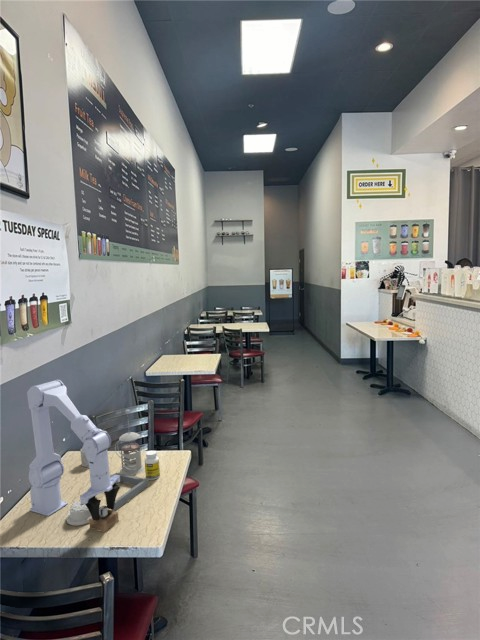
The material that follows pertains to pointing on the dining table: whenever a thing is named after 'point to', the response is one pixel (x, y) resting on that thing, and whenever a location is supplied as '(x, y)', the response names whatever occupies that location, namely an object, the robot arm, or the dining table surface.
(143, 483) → the grey u-shaped bracket
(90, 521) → the hollow wooden square
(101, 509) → the pin
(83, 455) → the mug
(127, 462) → the french press
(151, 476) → the supplement bottle
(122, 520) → the dining table surface
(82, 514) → the mechanical component
